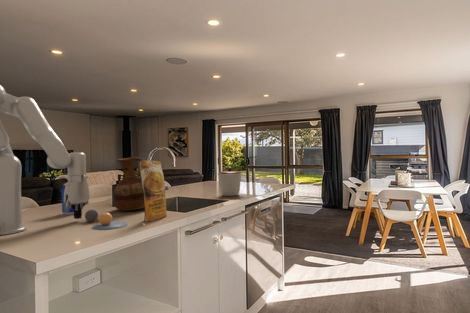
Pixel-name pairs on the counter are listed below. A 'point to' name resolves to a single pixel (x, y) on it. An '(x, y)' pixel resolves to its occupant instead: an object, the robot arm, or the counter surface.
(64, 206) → the blue carton
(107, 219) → the object ball
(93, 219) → the gray ball
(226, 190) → the canister
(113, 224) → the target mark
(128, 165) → the ceramic pitcher
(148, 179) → the pancake mix bag
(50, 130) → the robot arm
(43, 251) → the counter surface
